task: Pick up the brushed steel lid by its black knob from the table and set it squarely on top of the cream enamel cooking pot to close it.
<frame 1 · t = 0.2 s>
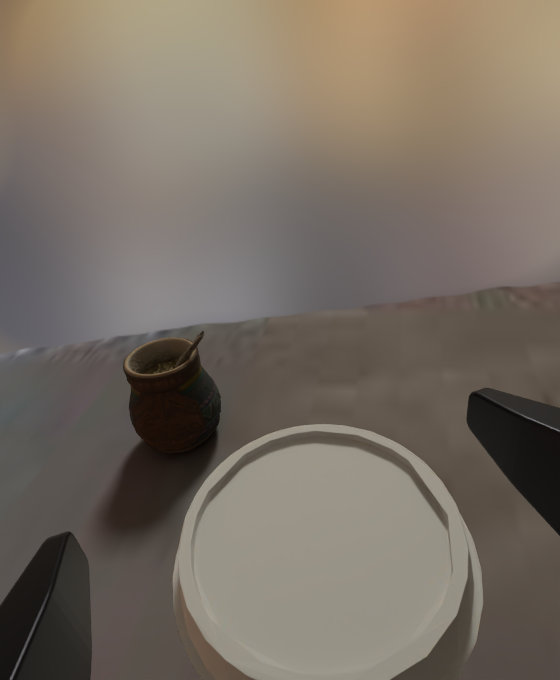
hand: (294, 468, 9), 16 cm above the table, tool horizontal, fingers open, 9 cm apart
mate gourd: (188, 434, 35), on the table
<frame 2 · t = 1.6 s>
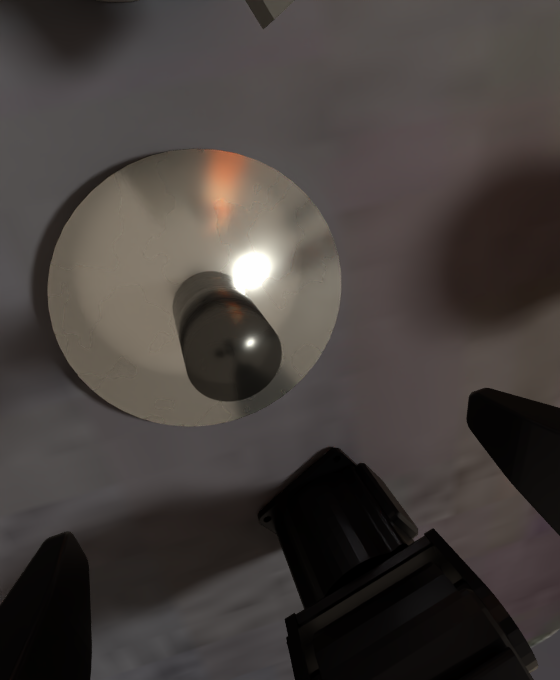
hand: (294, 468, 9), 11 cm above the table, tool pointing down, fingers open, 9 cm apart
lid: (206, 299, 19), on the table
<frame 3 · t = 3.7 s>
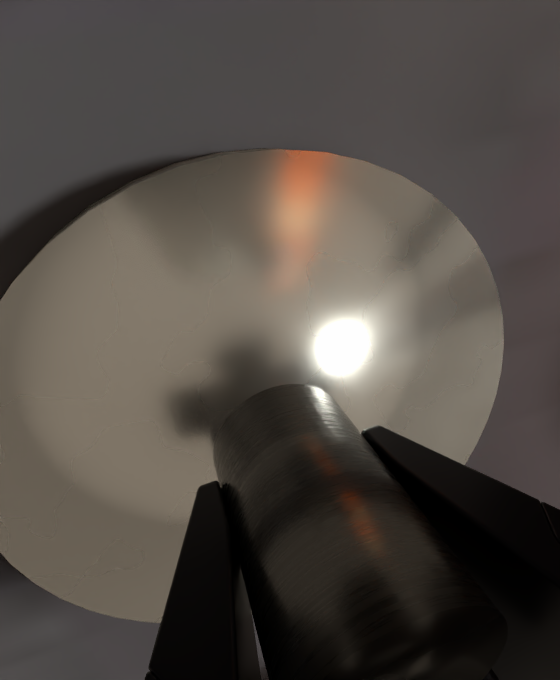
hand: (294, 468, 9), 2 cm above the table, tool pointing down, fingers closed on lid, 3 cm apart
lid: (269, 418, 10), on the table, touching gripper
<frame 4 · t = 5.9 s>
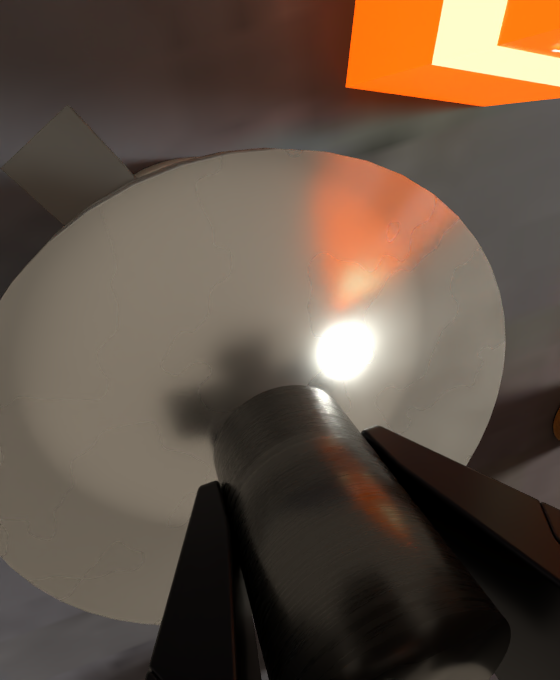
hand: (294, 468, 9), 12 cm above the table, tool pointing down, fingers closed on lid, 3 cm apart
pot: (206, 284, 19), on the table
lid: (269, 419, 10), point 11 cm above the table, touching gripper
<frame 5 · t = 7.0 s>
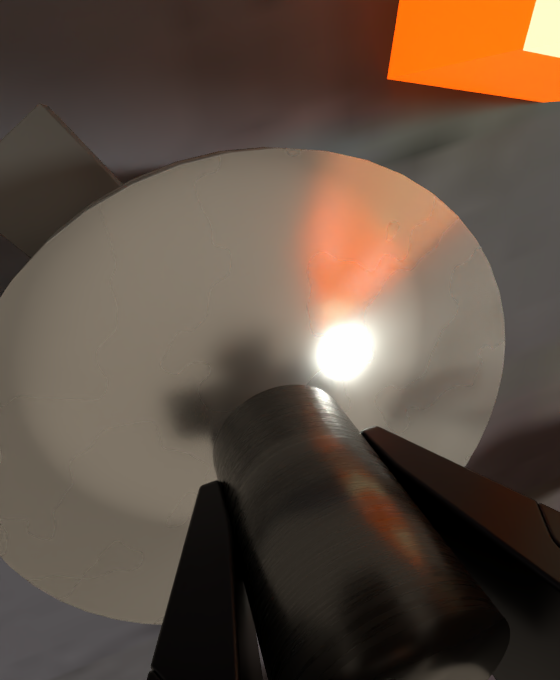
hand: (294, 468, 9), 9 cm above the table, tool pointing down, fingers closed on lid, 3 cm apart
pot: (217, 313, 16), on the table
lid: (269, 418, 10), point 7 cm above the table, touching gripper
when the fingers open (9 cm above the table, at t = 7.1 s): lid drops 1 cm, resting on pot.
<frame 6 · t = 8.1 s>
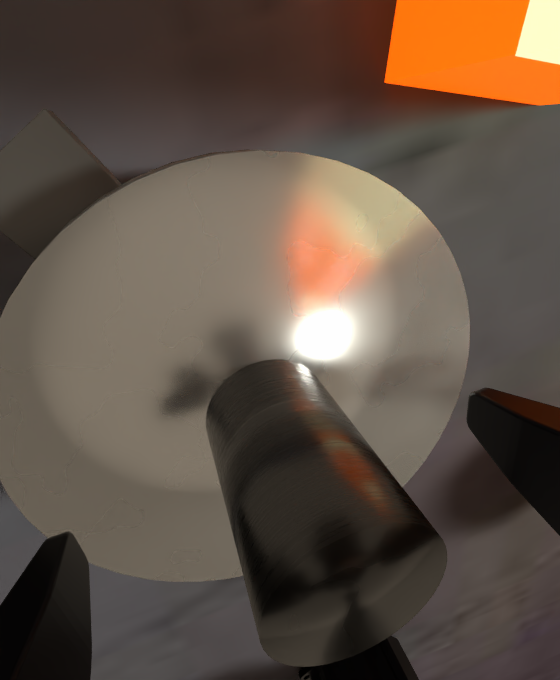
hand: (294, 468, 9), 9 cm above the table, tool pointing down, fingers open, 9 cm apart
pot: (217, 313, 17), on the table
lid: (257, 393, 11), point 6 cm above the table, touching pot
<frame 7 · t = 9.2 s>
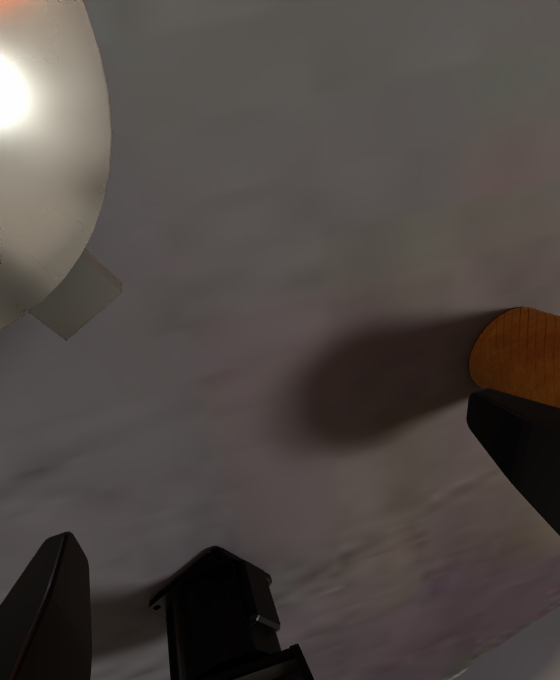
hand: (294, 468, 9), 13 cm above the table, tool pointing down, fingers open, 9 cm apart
disposable coffee cup: (504, 347, 29), on the table
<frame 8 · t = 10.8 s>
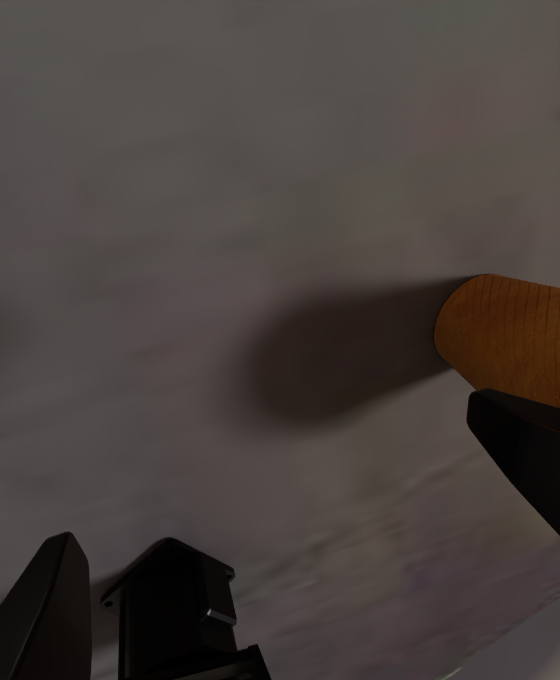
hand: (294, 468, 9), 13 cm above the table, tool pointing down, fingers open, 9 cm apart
disposable coffee cup: (472, 319, 27), on the table
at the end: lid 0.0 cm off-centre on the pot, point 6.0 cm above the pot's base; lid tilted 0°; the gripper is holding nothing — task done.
